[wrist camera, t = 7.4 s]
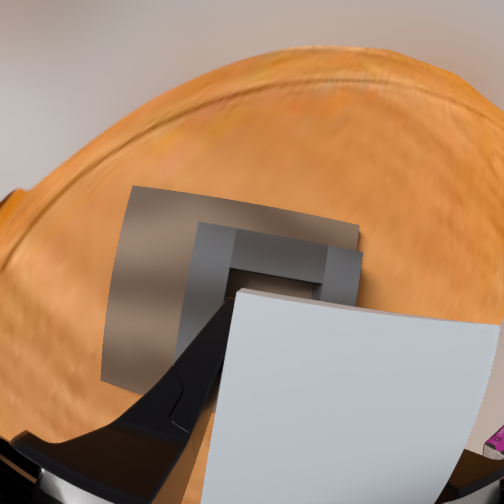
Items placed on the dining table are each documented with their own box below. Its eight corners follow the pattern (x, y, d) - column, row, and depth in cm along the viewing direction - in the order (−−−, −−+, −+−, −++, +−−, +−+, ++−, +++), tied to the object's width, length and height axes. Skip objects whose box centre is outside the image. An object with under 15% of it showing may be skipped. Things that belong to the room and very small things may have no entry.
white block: (295, 362, 16) (419, 524, 2) (230, 352, 16) (194, 540, 2) (308, 299, 17) (500, 325, 3) (242, 287, 17) (236, 292, 3)
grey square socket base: (318, 418, 20) (329, 438, 16) (105, 377, 20) (86, 389, 16) (354, 227, 22) (372, 218, 18) (136, 189, 22) (120, 174, 18)
